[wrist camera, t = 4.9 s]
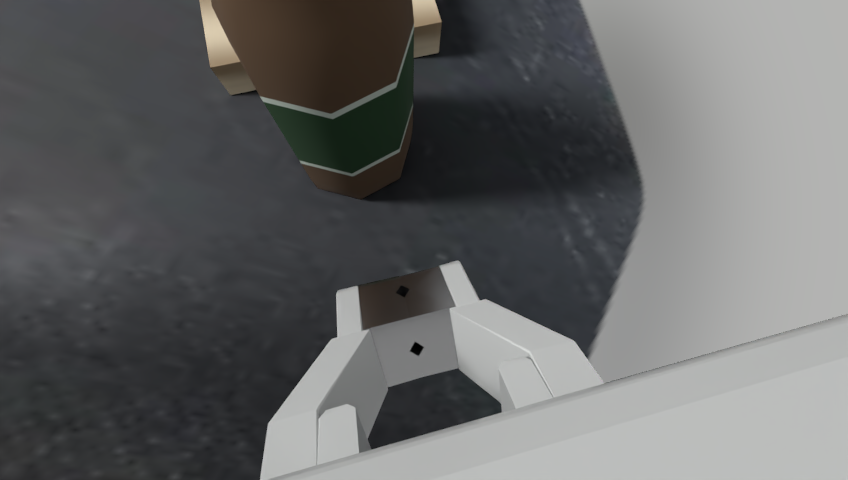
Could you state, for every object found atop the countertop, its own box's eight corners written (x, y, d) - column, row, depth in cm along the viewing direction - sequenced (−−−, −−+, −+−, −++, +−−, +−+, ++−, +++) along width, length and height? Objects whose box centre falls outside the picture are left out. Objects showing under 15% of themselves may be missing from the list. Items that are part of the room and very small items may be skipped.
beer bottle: (435, 139, 28) (551, -765, 5) (364, 226, 27) (67, -526, 4) (347, 78, 29) (109, -928, 6) (273, 158, 28) (-438, -794, 4)
